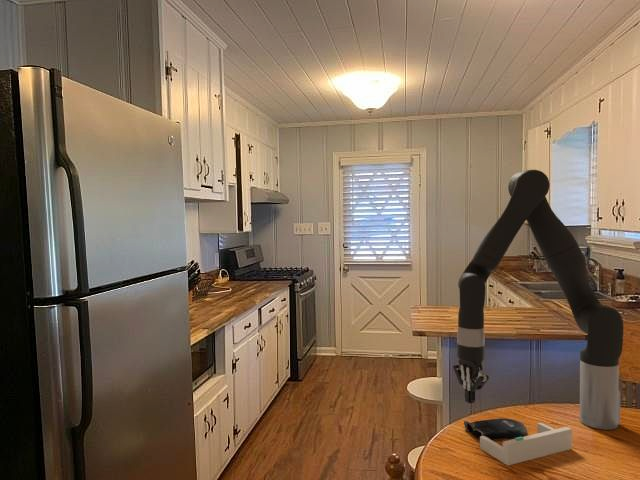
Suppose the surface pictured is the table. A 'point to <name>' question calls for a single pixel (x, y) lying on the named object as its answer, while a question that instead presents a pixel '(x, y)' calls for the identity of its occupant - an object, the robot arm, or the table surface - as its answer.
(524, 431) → the electronic device
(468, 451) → the table surface
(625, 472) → the table surface
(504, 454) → the charging dock
